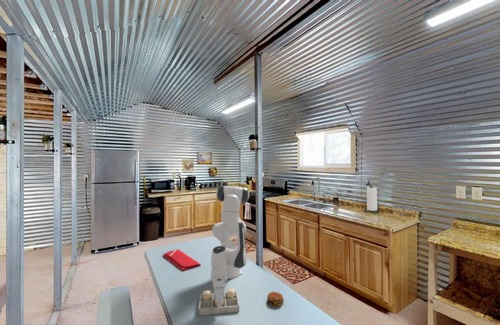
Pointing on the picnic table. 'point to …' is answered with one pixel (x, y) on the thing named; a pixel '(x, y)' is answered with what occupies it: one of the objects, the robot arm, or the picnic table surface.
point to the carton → (228, 306)
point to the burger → (275, 299)
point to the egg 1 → (206, 295)
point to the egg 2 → (230, 294)
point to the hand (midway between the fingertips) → (219, 301)
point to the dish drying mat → (181, 260)
